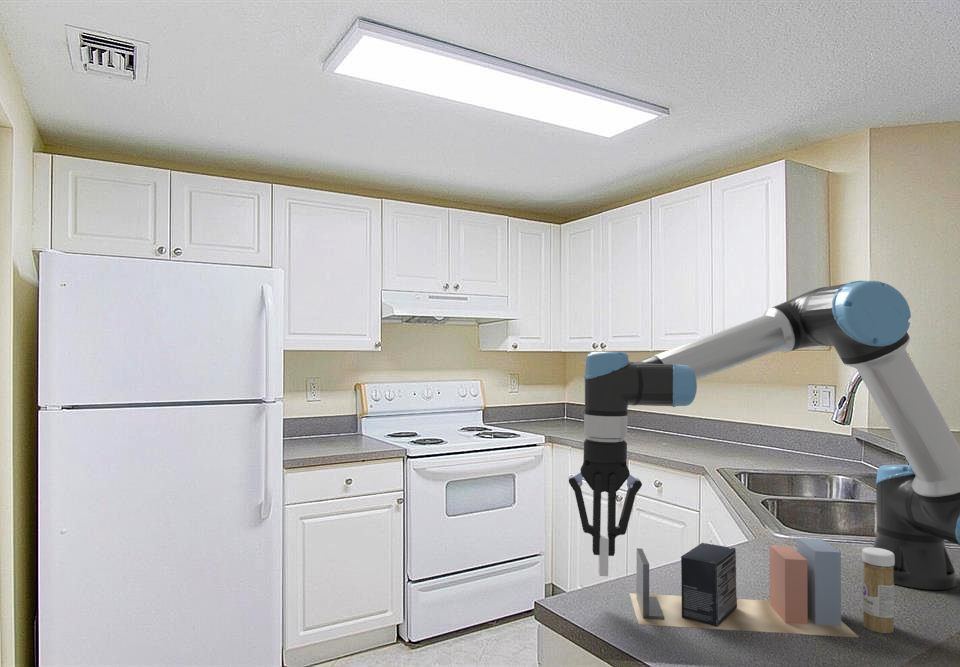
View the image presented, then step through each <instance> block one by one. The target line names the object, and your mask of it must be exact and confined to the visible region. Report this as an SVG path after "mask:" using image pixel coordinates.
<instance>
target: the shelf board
mask: <svg viewBox="0 0 960 667" xmlns="http://www.w3.org/2000/svg"><path fill="white" fill-rule="evenodd" d="M628 594H629V597H630V600H631V604H632V606H633V610H634V613H635V617H636V621H637V623H638V625H641V626H655V627H656V626H659V627H673V628H674V627H675V628H690V629H691V628H692V629H693V628H694V629H709V630H726V631H740V632H741V631H743V632H757V633H758V632H760V633H774V634H775V633H776V634H794V635H808V636H809V635H810V636H827V637H842V638H843V637H845V638H859V635H858V634H856V633H855V632H854V631H853V630H852V629H851V628H850V627H848V625H847V624H845V623H844V622H843V621H842V620H841V626H827V625H815V624H814V623H813V622H812V621H811V620H810V618H809V617H808V624H792V623H785V622H784V621H783V620H782V619H781V617H780V616H779V615H778V614H777V613H776V612H775V610H774V609H773V608H772V607H771V606H770V600H767V599H766V600H765V599H764V600H763V599H745V598H742V599H741V598H737V608H736V609H735V610H734V611H733V612H732V613H731V614H730V615H729V616H728V617H727V618H726V619H725V620H724V621H723V622H722V623H721V624H720V625H719V626H718V627H716V626H712V625H708V624H704V623H701V622H697V621H693V620H689V619H685V618H682V595H673V594H672V595H671V594H653V593H651V594H650V593H649V596H652V597H657V600H658V602H659V605H660V607H661V609H662V612H663V614H664V620H661V619H644V618H643V617H642V614H641V611H640V608H639V605H638V602H637V599H636V593H634V592H631V593H630V592H629V593H628Z"/></svg>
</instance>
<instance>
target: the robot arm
mask: <svg viewBox="0 0 960 667" xmlns="http://www.w3.org/2000/svg"><path fill="white" fill-rule="evenodd" d="M911 313H912V312H911V309H910V305H909V302H908V301H907V299H906V298H905V297H904V295H903V294H902V293H901V292H900V291H899V290H898V289H897V288H895V287H894V286H892V285H890V284H888V283H886V282H882V281H877V280H855V281H850V282H847V283H842V284H837V285H836V284H835V285H831V286H823V287H818V288H815V289H812V290H810V291H807V292H804V293H803V294H800V295H798V296H796V297H794V298H791V299H789V300H787V301H785V302H782V303H780V304H778V305H775V306H772V307H769V308H768V309H766V310H765V311H764V313H763V315H762V316H759V317H756V318H754V319H751V320H748V321H745V322H742V323H740V324H737V325H734V326H732V327H729V328H727V329H726V328H725V329H723V330H720V331H718V332H715V333H713V334H709V335H706V336H704V337H701V338H698V339H696V340H693V341H690V342H687V343H685V344H682V345H679V346H676V347H674V348H670V349H669V350H668V349H667V350H665V351H662V352H659V353H657V354H655V355H652V356H649V357H646V358H643V359H641V360H637V361H630V360H629V355H628V353H627V352H624V351H623V352H622V351H618V352H617V351H591V352H589V353H588V354H587V356H586V357H585V367H584V368H585V370H584V376H583V378H584V416H583V418H584V420H583V421H584V423H583V435H584V437H586V438H585V439H584V440H583V463H582V465H581V466H580V471H579V472H577V473H575V474H574V475H570V476H568V483H569V485H570V487H571V488H572V489H573V491H574V496H575V499H576V503H577V509H578V513H579V518H580V524H581V526H582V531H583V533H585V534H589V535H591V536H592V547H591V548H592V553H593V555H594V556H598V576H599V577H609V556H610V557H614V556H615V554H616V538H617V537H619V536H624V535H626V533H627V530H628V526H629V521H630V518H631V514H632V510H633V506H634V503H635V499H636V495H637V493H638V492H639V491H640V489H641V488H642V486H643V483H642V481H641V479H639V478H638V477H635V476H633V475H632V474H630V469H629V468H628V462H627V461H628V460H627V459H628V443H627V442H626V440H625V439H627V437H628V413H629V412H628V408H629V406H634V407H635V406H649V407H650V406H651V407H673V408H675V407H686V406H690V405H691V404H692V403H693V402H694V400H695V398H696V395H697V388H698V386H697V385H698V384H697V381H698V380H700V379H703V378H707V377H709V376H712V375H714V374H717V373H720V372H723V371H725V370H729V369H731V368H735V367H736V366H739V365H742V364H745V363H747V362H750V361H753V360H755V359H759V358H761V357H764V356H766V355H769V354H771V353H775V352H778V351H779V352H780V353H790V352H793V351H795V350H798V349H803V348H804V349H805V348H810V347H834V349H835V351H836V353H837V354H838V356H839V358H840V360H841V362H842V363H843V364H844V365H845V366H848V367H850V368H854V369H856V370H857V372H858V374H859V376H860V377H861V380H862V381H863V384H864V385H865V386H866V389H867V390H868V392H869V394H870V395H871V397H872V399H873V401H874V403H875V405H876V406H877V408H878V410H879V412H880V414H881V415H882V418H883V419H884V421H885V423H886V424H887V426H888V429H889V430H890V432H891V433H892V436H893V437H894V439H895V441H896V443H897V444H898V446H899V448H900V450H901V452H902V454H903V455H904V457H905V458H906V461H907V462H908V464H884V465H881V466H879V467H878V469H877V472H876V481H875V486H876V487H875V488H876V528H877V529H876V538H875V539H874V542H873V545H872V547H873V548H881V549H885V550H889V551H891V552H893V553H894V557H895V565H894V568H893V574H894V575H893V577H894V578H893V579H894V580H893V581H894V585H899V586H903V587H908V588H912V589H913V588H914V589H921V590H931V591H932V590H936V591H939V590H941V591H943V590H949V589H953V588H955V587H956V585H957V577H956V576H957V575H956V574H957V573H956V571H955V568H954V566H953V562H952V561H951V558H950V555H949V551H948V550H947V547H946V543H945V541H948V542H950V543H952V544H956V545H958V546H960V446H959V444H958V442H957V439H956V438H955V436H954V435H953V433H952V431H951V430H950V428H949V425H948V424H947V422H946V420H945V418H944V417H943V415H942V413H941V411H940V409H939V407H938V405H937V404H936V402H935V400H934V398H933V397H932V395H931V393H930V391H929V389H928V388H927V386H926V384H925V382H924V381H923V378H922V376H921V375H920V373H919V371H918V369H917V368H916V366H915V364H914V362H913V361H912V358H911V357H910V355H909V353H908V351H907V346H908V345H909V342H910V340H911V337H910V335H909V333H908V330H909V328H910V325H911V322H909V320H910V319H911V317H912V315H911ZM583 479H584V480H585V482H586V484H588V486H589V488H590V489H591V490H592V524H590V523H589V519H588V514H587V510H586V505H585V501H584V496H583V491H582V488H581V487H582V486H583ZM625 482H626V486H627V488H628V489H627V491H626V494H625V499H624V501H623V502H624V503H623V506H622V509H621V514H620V516H619V517H620V518H619V521H618V524H616V520H617V519H616V518H617V517H616V516H617V515H616V514H617V510H616V509H617V492H618V491H619V490H620V488H621V487H623V485H624V483H625ZM602 493H607V522H606V523H607V526H606V527H607V531H606V532H607V534H605V533H604V534H603V533H601V520H602V518H601V516H602V515H601V512H602ZM616 525H617V526H616Z"/></svg>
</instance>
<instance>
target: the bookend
mask: <svg viewBox="0 0 960 667" xmlns="http://www.w3.org/2000/svg"><path fill="white" fill-rule="evenodd" d="M649 594H650V563H649V561H648V558H647V556H646V553H645V551H644V549H643V548H636V599H637V602H638V605H639V608H640V611H641V614H642V617H643V618H644V619H661V620H664V614H663V612H662V609H661V607H660V605H659V602H658V600H657V597H652V596H649Z"/></svg>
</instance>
